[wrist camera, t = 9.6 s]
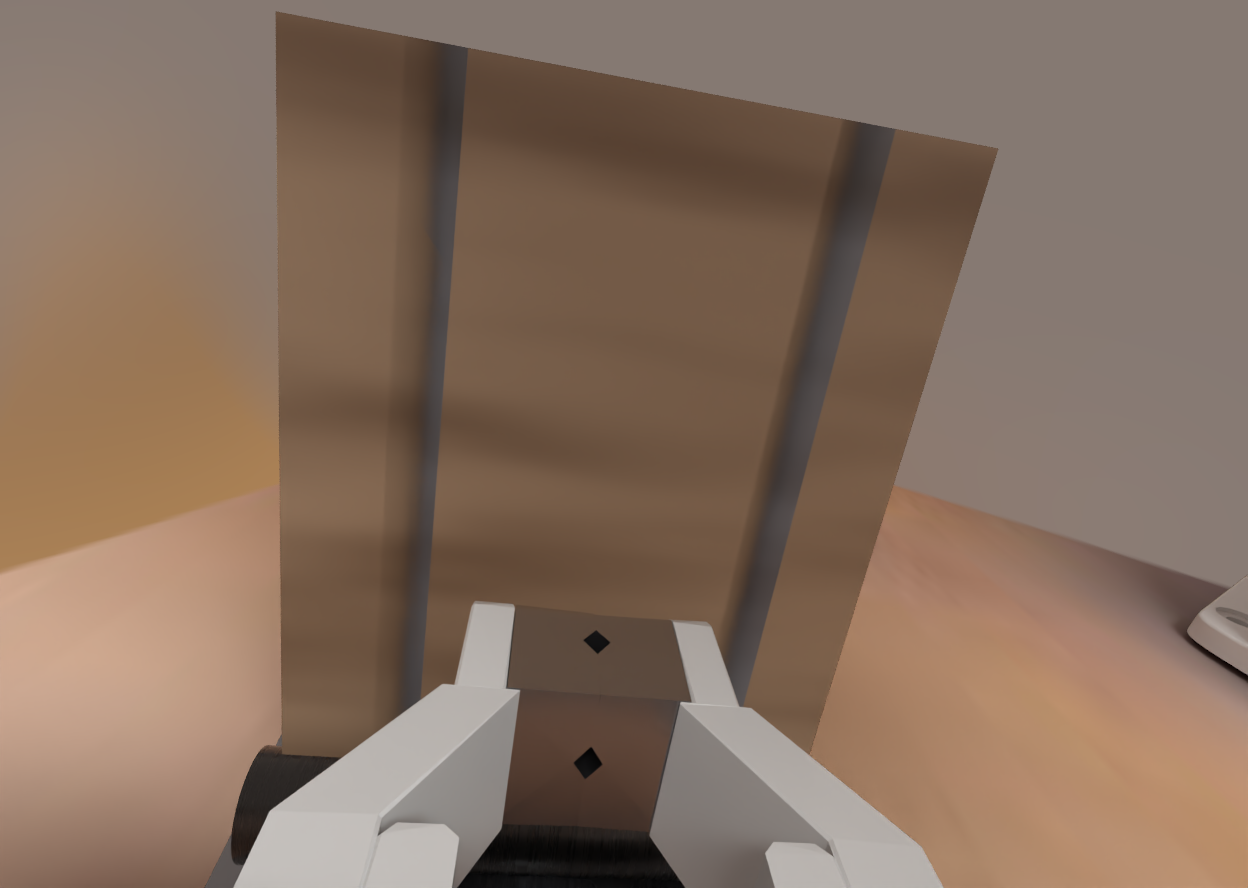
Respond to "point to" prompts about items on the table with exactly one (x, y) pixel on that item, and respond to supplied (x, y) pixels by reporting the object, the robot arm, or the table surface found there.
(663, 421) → the crate
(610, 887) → the roller track
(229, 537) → the table surface
